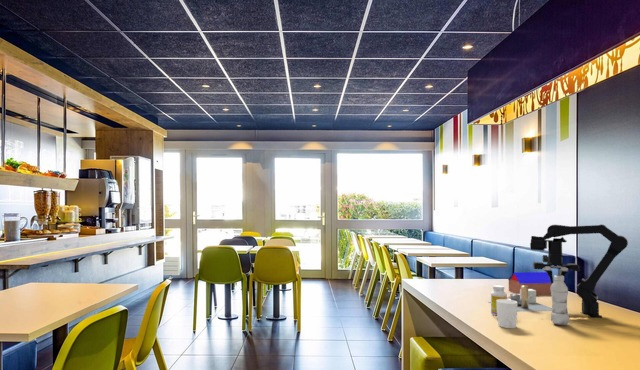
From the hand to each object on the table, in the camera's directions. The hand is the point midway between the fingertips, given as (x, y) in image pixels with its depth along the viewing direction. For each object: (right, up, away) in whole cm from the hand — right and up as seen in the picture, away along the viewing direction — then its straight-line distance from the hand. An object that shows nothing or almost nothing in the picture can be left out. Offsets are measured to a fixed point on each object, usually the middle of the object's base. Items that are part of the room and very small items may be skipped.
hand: (555, 285), depth 200 cm
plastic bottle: (-12, -11, -24) cm, 29 cm away
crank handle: (-15, -11, +6) cm, 20 cm away
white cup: (-34, -11, -27) cm, 45 cm away
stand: (-14, -12, +5) cm, 19 cm away
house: (+9, -15, +43) cm, 46 cm away
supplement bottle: (-30, -12, -9) cm, 34 cm away
